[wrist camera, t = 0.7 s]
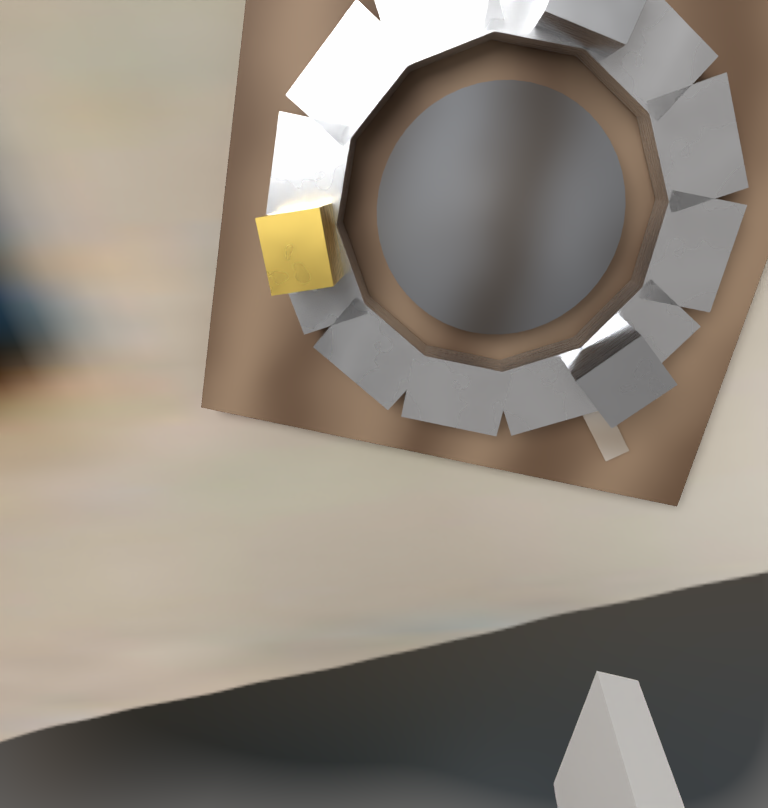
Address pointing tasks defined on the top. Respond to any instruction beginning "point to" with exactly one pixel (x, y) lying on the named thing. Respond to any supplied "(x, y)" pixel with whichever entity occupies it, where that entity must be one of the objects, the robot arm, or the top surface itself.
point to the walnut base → (343, 407)
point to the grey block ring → (620, 318)
